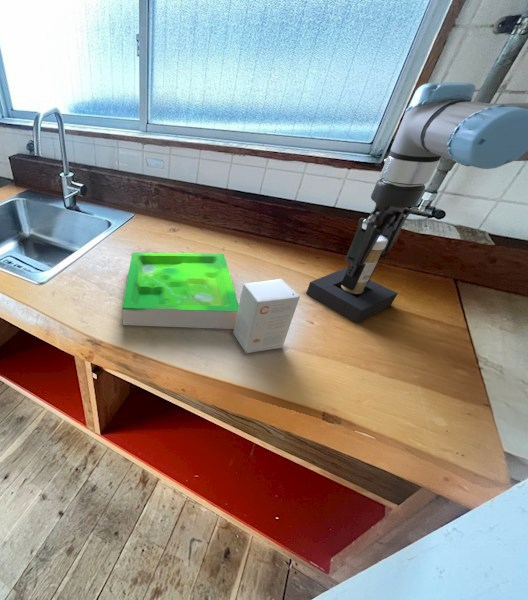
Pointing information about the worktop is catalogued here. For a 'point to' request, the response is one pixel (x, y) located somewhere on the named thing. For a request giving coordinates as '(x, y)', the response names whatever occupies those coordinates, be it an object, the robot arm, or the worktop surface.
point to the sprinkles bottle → (369, 266)
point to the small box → (264, 315)
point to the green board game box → (179, 291)
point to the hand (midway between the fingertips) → (354, 283)
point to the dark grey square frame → (350, 296)
